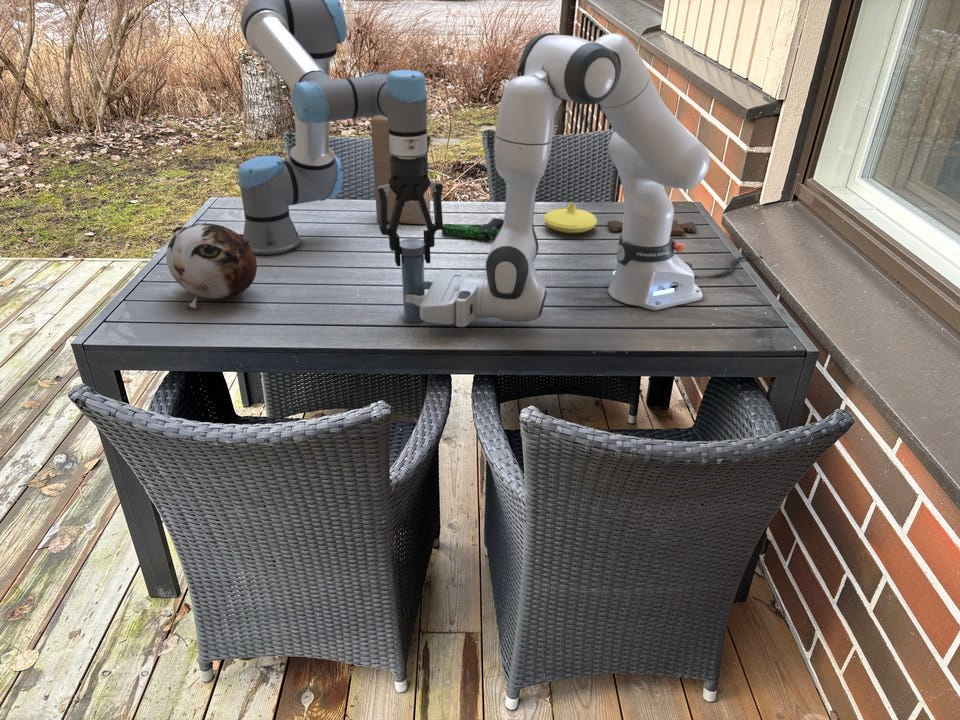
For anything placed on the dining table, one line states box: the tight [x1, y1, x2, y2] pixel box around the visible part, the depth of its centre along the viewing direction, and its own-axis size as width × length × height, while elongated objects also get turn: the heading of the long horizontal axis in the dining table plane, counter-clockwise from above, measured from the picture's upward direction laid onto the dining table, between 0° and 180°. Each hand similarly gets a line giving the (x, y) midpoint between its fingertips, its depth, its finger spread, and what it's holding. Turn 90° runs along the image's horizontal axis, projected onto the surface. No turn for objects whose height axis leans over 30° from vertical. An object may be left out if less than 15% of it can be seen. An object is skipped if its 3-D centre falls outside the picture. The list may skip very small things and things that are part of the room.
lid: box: [400, 238, 426, 257], centre depth 153 cm, size 6×6×2 cm
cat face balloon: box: [165, 222, 258, 309], centre depth 165 cm, size 22×18×20 cm
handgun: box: [441, 217, 504, 242], centre depth 207 cm, size 16×3×15 cm
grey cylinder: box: [400, 254, 426, 323], centre depth 157 cm, size 5×5×17 cm
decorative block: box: [370, 115, 431, 225], centre depth 208 cm, size 8×15×30 cm, turn 82°
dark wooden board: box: [607, 219, 697, 235], centre depth 211 cm, size 26×2×10 cm
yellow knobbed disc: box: [543, 203, 598, 234], centre depth 209 cm, size 16×16×7 cm
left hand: (412, 262), depth 154 cm, fingers closed on lid, 6 cm apart
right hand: (409, 291), depth 158 cm, fingers closed on grey cylinder, 5 cm apart
